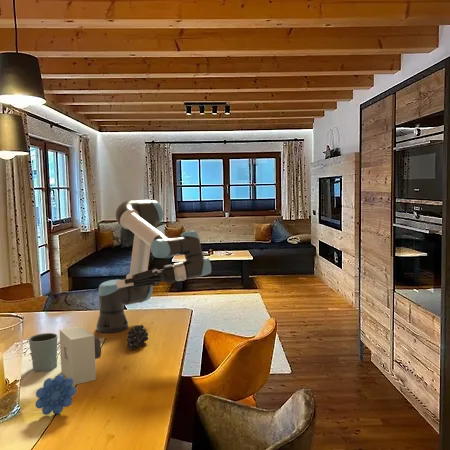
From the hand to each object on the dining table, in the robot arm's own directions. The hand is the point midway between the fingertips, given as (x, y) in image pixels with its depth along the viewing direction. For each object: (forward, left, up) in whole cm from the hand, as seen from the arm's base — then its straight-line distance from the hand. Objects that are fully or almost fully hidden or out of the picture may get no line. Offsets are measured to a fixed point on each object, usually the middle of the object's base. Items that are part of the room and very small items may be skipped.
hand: (116, 284), depth 186 cm
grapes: (+36, -34, -29) cm, 57 cm away
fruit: (-7, +10, -30) cm, 32 cm away
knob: (+11, -18, -24) cm, 32 cm away
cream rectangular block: (+11, -20, -29) cm, 37 cm away
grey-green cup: (-5, -28, -29) cm, 41 cm away
